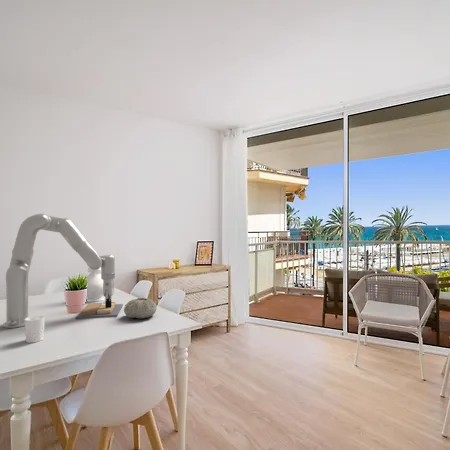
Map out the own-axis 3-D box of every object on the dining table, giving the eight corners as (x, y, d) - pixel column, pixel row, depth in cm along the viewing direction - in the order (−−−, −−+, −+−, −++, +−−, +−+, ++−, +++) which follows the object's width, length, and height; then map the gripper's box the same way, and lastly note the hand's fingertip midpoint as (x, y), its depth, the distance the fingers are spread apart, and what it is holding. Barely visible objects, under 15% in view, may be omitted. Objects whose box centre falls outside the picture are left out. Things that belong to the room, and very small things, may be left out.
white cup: (48, 337, 147) (48, 315, 147) (38, 343, 140) (38, 320, 140) (30, 337, 147) (30, 315, 147) (20, 343, 139) (20, 320, 139)
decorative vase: (92, 303, 211) (92, 266, 211) (75, 300, 220) (75, 264, 220) (114, 298, 226) (114, 263, 226) (97, 295, 235) (97, 261, 235)
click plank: (110, 313, 183) (110, 309, 183) (96, 314, 181) (96, 310, 181) (115, 304, 202) (115, 301, 202) (103, 305, 201) (103, 302, 201)
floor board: (117, 316, 181) (117, 311, 181) (75, 318, 176) (75, 313, 176) (122, 305, 206) (122, 300, 206) (86, 307, 202) (86, 302, 202)
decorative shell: (145, 323, 169) (145, 304, 169) (117, 319, 175) (117, 301, 175) (162, 314, 186) (162, 297, 186) (136, 311, 192) (136, 294, 192)
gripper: (112, 277, 182) (113, 310, 182) (116, 274, 197) (116, 303, 197) (99, 278, 180) (99, 310, 180) (103, 274, 195) (103, 304, 195)
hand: (108, 307), depth 189 cm, fingers closed
